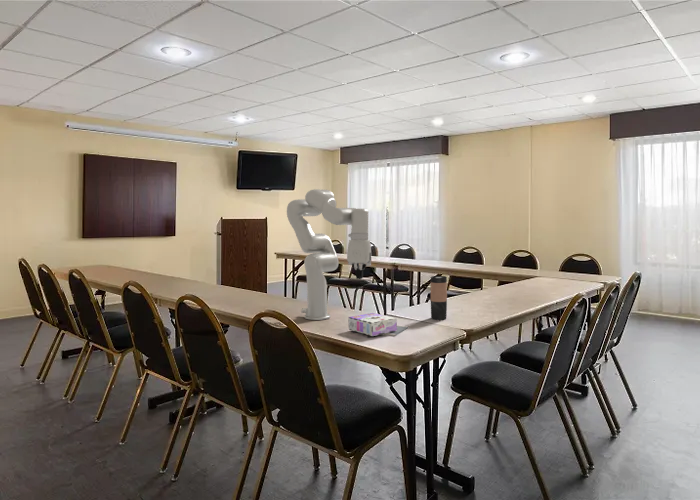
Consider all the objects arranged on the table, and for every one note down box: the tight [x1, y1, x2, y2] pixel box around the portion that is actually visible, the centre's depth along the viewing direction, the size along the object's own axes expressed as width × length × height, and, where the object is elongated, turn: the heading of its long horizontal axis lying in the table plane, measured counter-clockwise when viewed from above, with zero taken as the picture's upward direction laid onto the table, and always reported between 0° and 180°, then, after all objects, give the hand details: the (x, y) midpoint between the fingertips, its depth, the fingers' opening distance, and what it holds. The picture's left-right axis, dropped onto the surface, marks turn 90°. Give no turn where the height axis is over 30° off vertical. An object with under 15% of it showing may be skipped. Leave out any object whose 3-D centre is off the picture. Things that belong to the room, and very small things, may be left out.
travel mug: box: [430, 275, 448, 321], centre depth 237 cm, size 8×8×20 cm
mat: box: [357, 325, 409, 337], centre depth 216 cm, size 17×16×1 cm
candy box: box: [348, 312, 398, 337], centre depth 212 cm, size 14×6×16 cm
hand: (359, 278), depth 219 cm, fingers closed
